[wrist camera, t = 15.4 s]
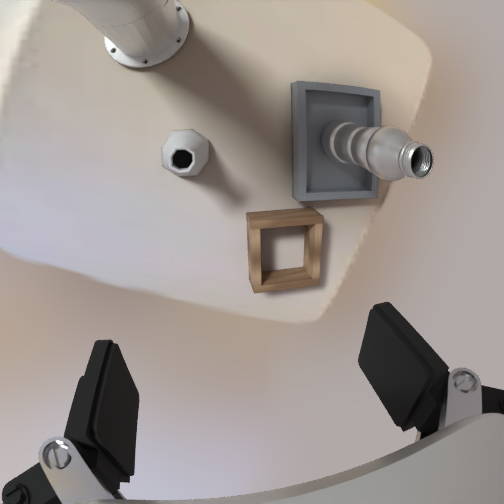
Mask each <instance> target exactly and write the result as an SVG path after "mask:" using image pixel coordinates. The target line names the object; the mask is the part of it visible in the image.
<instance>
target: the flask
mask: <svg viewBox="0 0 504 504" xmlns="http://www.w3.org/2000/svg"><path fill="white" fill-rule="evenodd" d="M208 160H209V140H208V139H206V138H205V137H203V136H202V135H200V134H199V133H197V132H196V131H194V130H193V129H190V130H175V131H172V133H171V134H170V135H169V137H168V138H167V140H166V141H165V143H164V144H163V146H162V166H163V167H165V168H166V169H168V170H169V171H171V172H172V173H174V174H175V175H177V176H193V175H198V174H199V173H200V171H201V170H202V169H203V167H204V166H205V164H206V163H207V162H208Z"/></svg>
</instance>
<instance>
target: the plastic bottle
mask: <svg viewBox="0 0 504 504" xmlns="http://www.w3.org/2000/svg"><path fill="white" fill-rule="evenodd" d="M322 146H323V149H324V151H325V153H326V154H327V155H328V156H329V157H330V158H331V159H332V160H334V161H336V162H339V163H351V164H357V165H359V166H361V167H363V168H365V169H367V170H369V171H370V172H372V173H373V174H374V175H376V176H377V177H379V178H381V179H383V180H386V181H396V180H400V179H402V178H404V177H405V176H408V177H414V178H417V179H423V178H425V177H427V176H428V175H429V174H430V172H431V170H432V168H433V164H434V157H433V153H432V150H431V149H430V148H429V147H428V146H427V145H425V144H421V143H419V142H415V141H413V140H412V139H411V137H410V136H409V135H408V134H407V133H406V132H405V131H403V130H402V129H400V128H398V127H395V126H383V127H364V126H360V125H357V124H355V123H353V122H350V121H347V120H340V121H336V122H333V123H331V124H330V125H329V126H328V127H327V128H326V129H325V131H324V133H323V136H322Z"/></svg>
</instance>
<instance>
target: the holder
mask: <svg viewBox="0 0 504 504" xmlns="http://www.w3.org/2000/svg"><path fill="white" fill-rule="evenodd" d="M246 215H247V239H248V262H249V280H250V283H251V286H252V289H253V292H254V293H261V292H269V291H277V290H284V289H291V288H298V287H305V286H312V285H319V273H320V260H321V245H322V229H323V215H321V214H320V213H319V212H317V211H316V210H315V209H313V208H300V209H286V210H273V211H261V212H249V213H246ZM298 225H305V242H304V265H303V267H299V268H291V269H283V270H274V271H266V272H261V246H260V229H265V228H276V227H287V226H298Z"/></svg>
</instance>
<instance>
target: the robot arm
mask: <svg viewBox="0 0 504 504" xmlns="http://www.w3.org/2000/svg"><path fill="white" fill-rule="evenodd" d="M52 1H55V2H59V3H62V4H66V5H68V6H70V7H72V8H74V9H75V10H76V11H78V12H79V13H80V14H81V15H83V16H84V17H85V18H86V19H87V20H88V21H89V22H90V23H91V24H92V25H94V26H95V27H96V28H97V29H98V30H99V31H100V32H101V33H102V34H103V35H104V42H105V46H106V50H107V51H108V53H109V55H110V56H111V57H112V58H113V59H114V60H115V61H117V62H118V63H120V64H122V65H124V66H128V67H132V68H145V67H150V66H154V65H157V64H159V63H162V62H164V61H166V60H167V59H169V58H170V57H172V56H173V55H174V54H175V53H176V52H177V51H178V50H179V49H180V48H181V47H182V45H183V44H184V42H185V40H186V38H187V35H188V32H189V18H188V14H187V12H186V10H185V8H184V7H183V6H182V5H181V4H180V3H179V2H178V1H176V0H52ZM177 10H180V11H177ZM178 40H180V42H179V43H178V42H177V41H178ZM115 50H116V52H115V53H113V52H114V51H115ZM145 61H148V63H146V64H145ZM358 363H359V366H360V368H361V369H362V371H363V373H364V374H365V376H366V377H367V379H368V381H369V382H370V384H371V385H372V387H373V389H374V390H375V392H376V393H377V395H378V397H379V398H380V400H381V402H382V403H383V405H384V406H385V408H386V410H387V411H388V413H389V415H390V416H391V418H392V420H393V421H394V423H395V424H396V426H399V427H401V429H402V430H403V432H404V431H406V430H408V429H410V428H413V427H414V426H415V427H416V429H417V435H416V440H415V443H413V444H411V445H408V446H406V447H404V448H402V449H400V450H398V451H396V452H393V453H391V454H388V455H386V456H384V457H381V458H379V459H376V460H374V461H371V462H369V463H366V464H363V465H361V466H358V467H355V468H352V469H349V470H346V471H344V472H340V473H337V474H334V475H331V476H327V477H324V478H321V479H317V480H313V481H310V482H306V483H302V484H298V485H294V486H289V487H285V488H280V489H275V490H270V491H264V492H259V493H252V494H246V495H238V496H231V497H221V498H210V499H194V500H127V499H126V498H125V497H124V496H123V495H122V493H121V492H120V491H119V490H118V489H120V482H128V483H129V482H130V476H133V475H134V469H135V468H134V467H135V448H136V432H137V419H138V408H139V393H138V390H137V388H136V386H135V384H134V381H133V379H132V377H131V375H130V372H129V370H128V368H127V365H126V363H125V360H124V358H123V356H122V354H121V351H120V348H119V346H118V344H114V343H113V341H112V340H97V341H96V342H95V344H94V347H93V350H92V353H91V356H90V359H89V362H88V365H87V368H86V372H85V375H84V376H82V377H81V378H80V379H79V382H78V385H77V388H76V392H75V395H74V399H73V402H72V406H71V410H70V413H69V417H68V421H67V425H66V429H65V433H64V438H63V437H53V438H50V439H48V440H47V441H45V442H44V443H43V445H42V446H41V448H40V451H39V461H40V462H39V463H37V464H36V465H34V466H33V467H31V468H30V469H28V470H27V471H25V472H24V473H22V474H20V475H19V476H18V477H16V478H14V479H12V480H11V481H9V482H8V483H7V484H6V485H5V486H4V488H3V491H2V500H3V503H2V504H504V390H501V389H496V388H491V387H487V386H482V385H481V382H480V379H479V377H478V375H477V374H476V373H475V372H473V371H472V370H470V369H467V368H457V369H454V370H453V371H452V372H451V373H450V372H449V371H448V369H449V367H448V366H447V365H446V364H445V362H444V361H443V360H442V359H441V358H440V357H439V356H438V354H437V353H436V352H435V351H434V350H433V349H432V348H431V346H430V345H429V344H428V343H427V342H426V341H425V340H424V339H423V338H422V336H420V334H419V333H418V332H417V331H416V330H415V329H414V328H413V327H412V326H411V325H410V323H409V322H408V321H407V320H406V319H405V318H404V317H403V316H402V315H401V314H400V313H399V312H398V311H397V310H396V309H395V308H394V306H393V305H392V304H391V303H389V302H384V303H380V304H376V305H374V306H373V309H371V310H370V312H369V317H368V321H367V326H366V330H365V334H364V338H363V342H362V346H361V350H360V354H359V358H358Z"/></svg>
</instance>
